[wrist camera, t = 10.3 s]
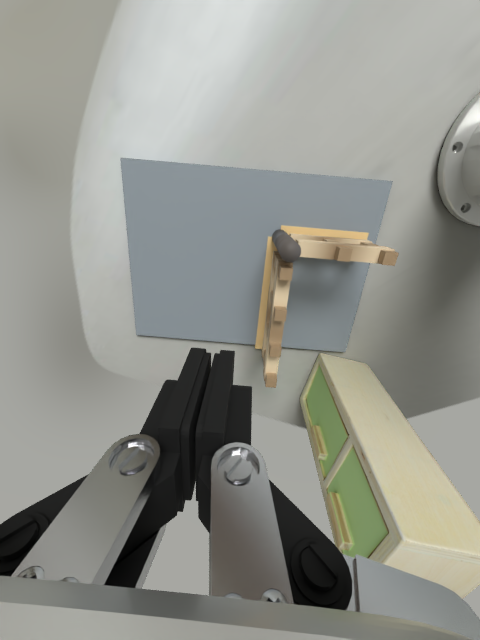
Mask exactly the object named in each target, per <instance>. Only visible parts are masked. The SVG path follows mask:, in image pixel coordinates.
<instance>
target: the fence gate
mask: <svg viewBox="0 0 480 640" xmlns="http://www.w3.org/2000/svg"><path fill="white" fill-rule="evenodd" d="M292 274H293V263H292V262H286V261H284V260H283V259H282V258H281V256H280V254H279V252H278V251H273V258H272V267H271V276H270V284H269V293H268V302H267V311H266V320H265V328H264V337H263V346H262V357H263V362H264V371H263V373H264V381H265V385H266V387H274V388H276V383H277V370H278V363H279V357H280V356H281V349H282V348H281V343H282V336H283V329H284V322H285V321H286V315H287V302H288V295H289V288H290V281H292Z"/></svg>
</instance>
